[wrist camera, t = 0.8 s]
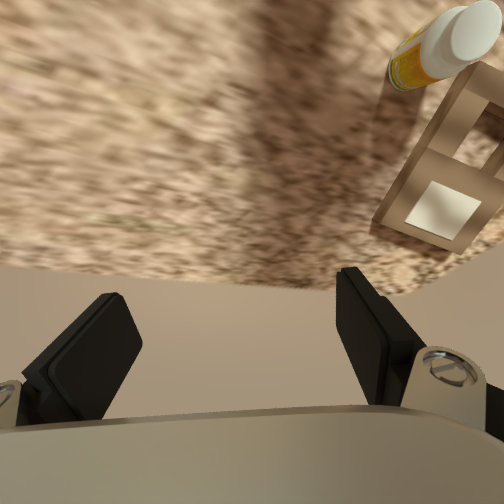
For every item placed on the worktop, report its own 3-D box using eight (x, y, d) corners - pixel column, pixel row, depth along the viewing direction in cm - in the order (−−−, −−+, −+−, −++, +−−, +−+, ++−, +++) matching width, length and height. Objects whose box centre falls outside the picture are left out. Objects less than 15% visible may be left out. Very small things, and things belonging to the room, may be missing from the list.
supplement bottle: (401, 29, 27) (470, -26, 18) (442, 46, 28) (528, 1, 19) (378, 83, 29) (429, 57, 21) (416, 98, 30) (482, 79, 21)
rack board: (462, 67, 29) (481, 60, 26) (553, 113, 30) (579, 110, 28) (372, 218, 36) (380, 224, 34) (448, 248, 38) (462, 255, 36)
